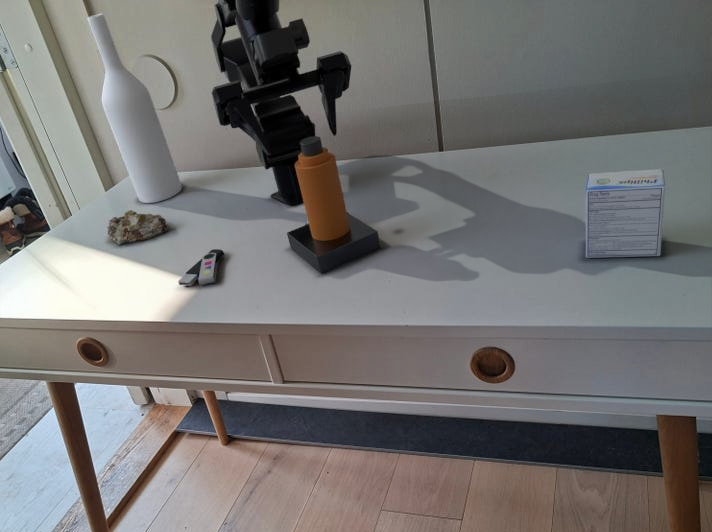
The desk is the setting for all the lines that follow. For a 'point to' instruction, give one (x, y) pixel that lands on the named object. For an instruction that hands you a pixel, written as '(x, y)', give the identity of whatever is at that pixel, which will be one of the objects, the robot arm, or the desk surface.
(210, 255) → the usb flash drive
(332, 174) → the amber bottle
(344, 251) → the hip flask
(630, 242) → the medicine box
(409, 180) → the desk surface
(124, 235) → the mineral rock
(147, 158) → the bottle
